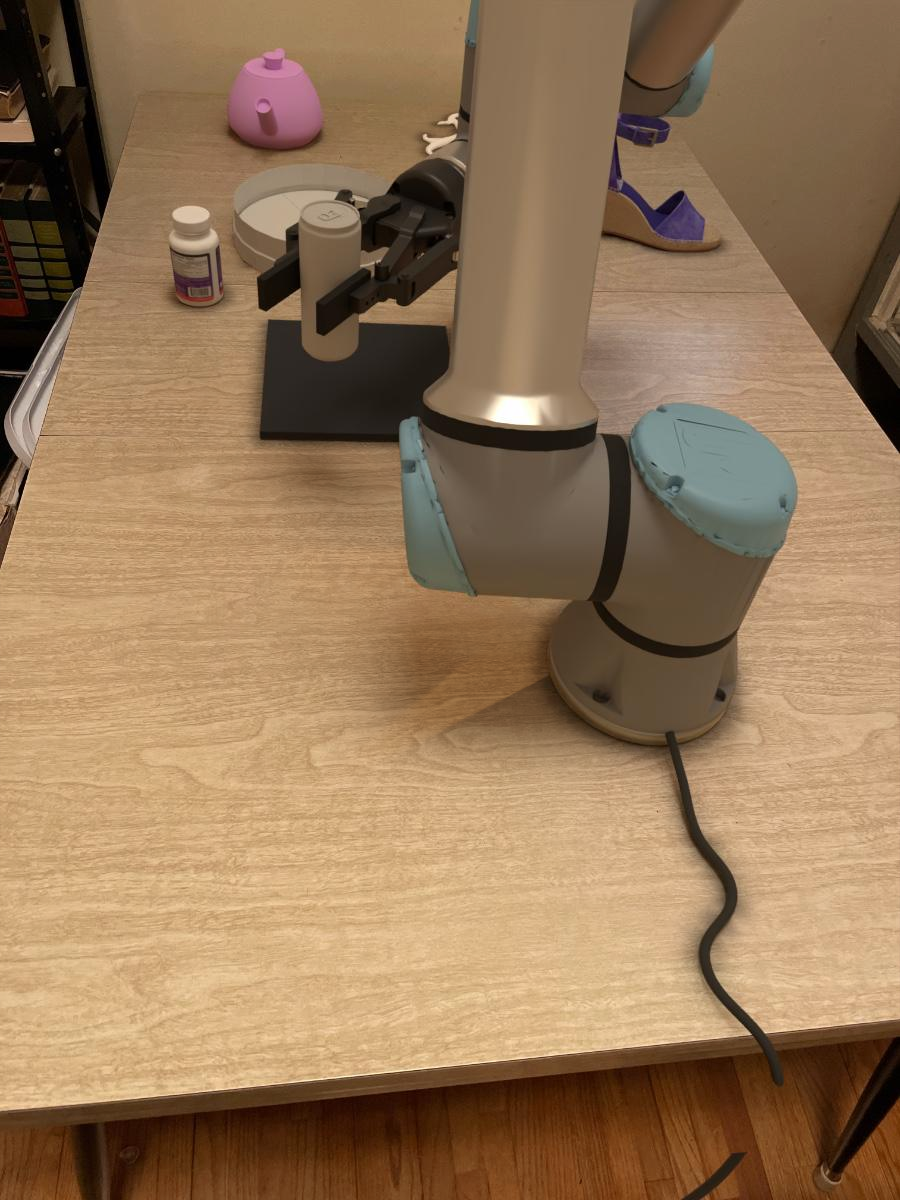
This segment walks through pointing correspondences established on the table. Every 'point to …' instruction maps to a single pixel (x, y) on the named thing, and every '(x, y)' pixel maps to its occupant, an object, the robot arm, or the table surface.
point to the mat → (349, 382)
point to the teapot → (274, 103)
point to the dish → (293, 207)
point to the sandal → (635, 217)
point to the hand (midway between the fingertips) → (290, 306)
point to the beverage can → (328, 272)
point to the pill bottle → (195, 257)
